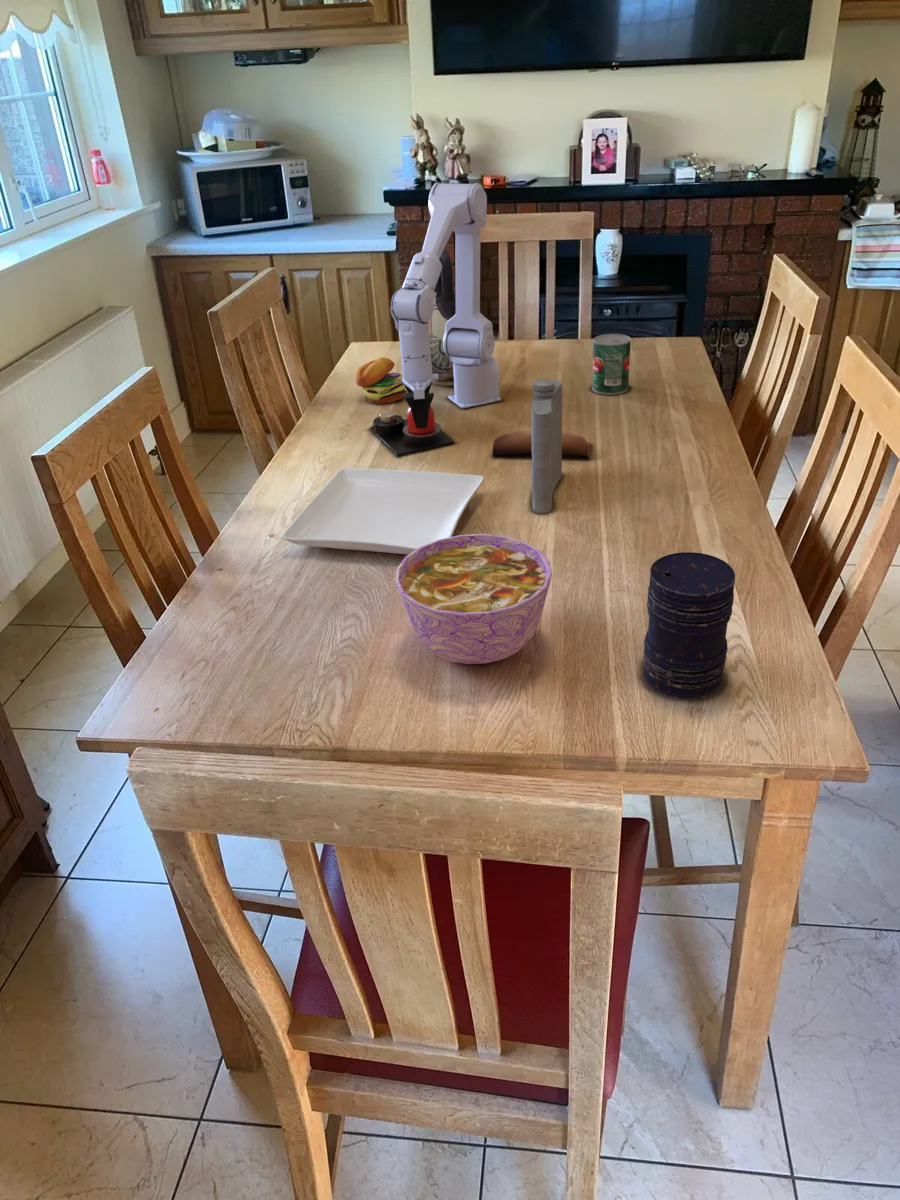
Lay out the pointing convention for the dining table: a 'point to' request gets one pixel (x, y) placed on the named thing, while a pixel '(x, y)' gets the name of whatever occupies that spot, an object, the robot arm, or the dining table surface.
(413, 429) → the pepper
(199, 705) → the dining table surface
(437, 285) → the ceramic jug
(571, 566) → the dining table surface
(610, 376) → the canned tomato
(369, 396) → the cheeseburger
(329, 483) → the square plate
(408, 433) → the burner
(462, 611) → the bowl of food
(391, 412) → the hob button
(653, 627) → the storage jar
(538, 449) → the hip flask
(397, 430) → the hob
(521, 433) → the sunglasses case
